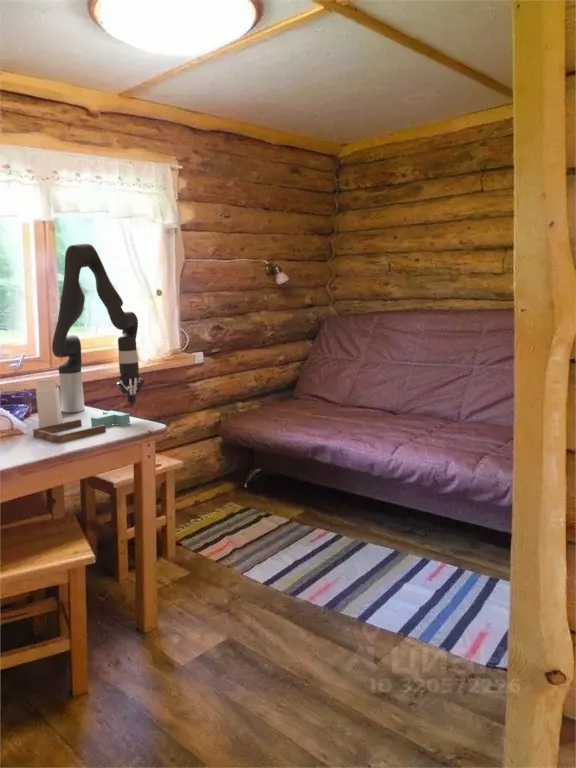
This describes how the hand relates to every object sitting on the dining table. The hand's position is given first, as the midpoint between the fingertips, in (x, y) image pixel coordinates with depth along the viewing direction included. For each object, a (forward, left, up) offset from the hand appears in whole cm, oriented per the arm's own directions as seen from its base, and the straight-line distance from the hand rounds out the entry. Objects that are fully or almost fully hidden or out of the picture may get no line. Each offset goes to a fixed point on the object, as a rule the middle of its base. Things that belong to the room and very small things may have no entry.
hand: (132, 403), depth 245 cm
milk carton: (-16, -27, -7) cm, 32 cm away
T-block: (0, -12, -7) cm, 13 cm away
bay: (0, -28, -6) cm, 28 cm away
